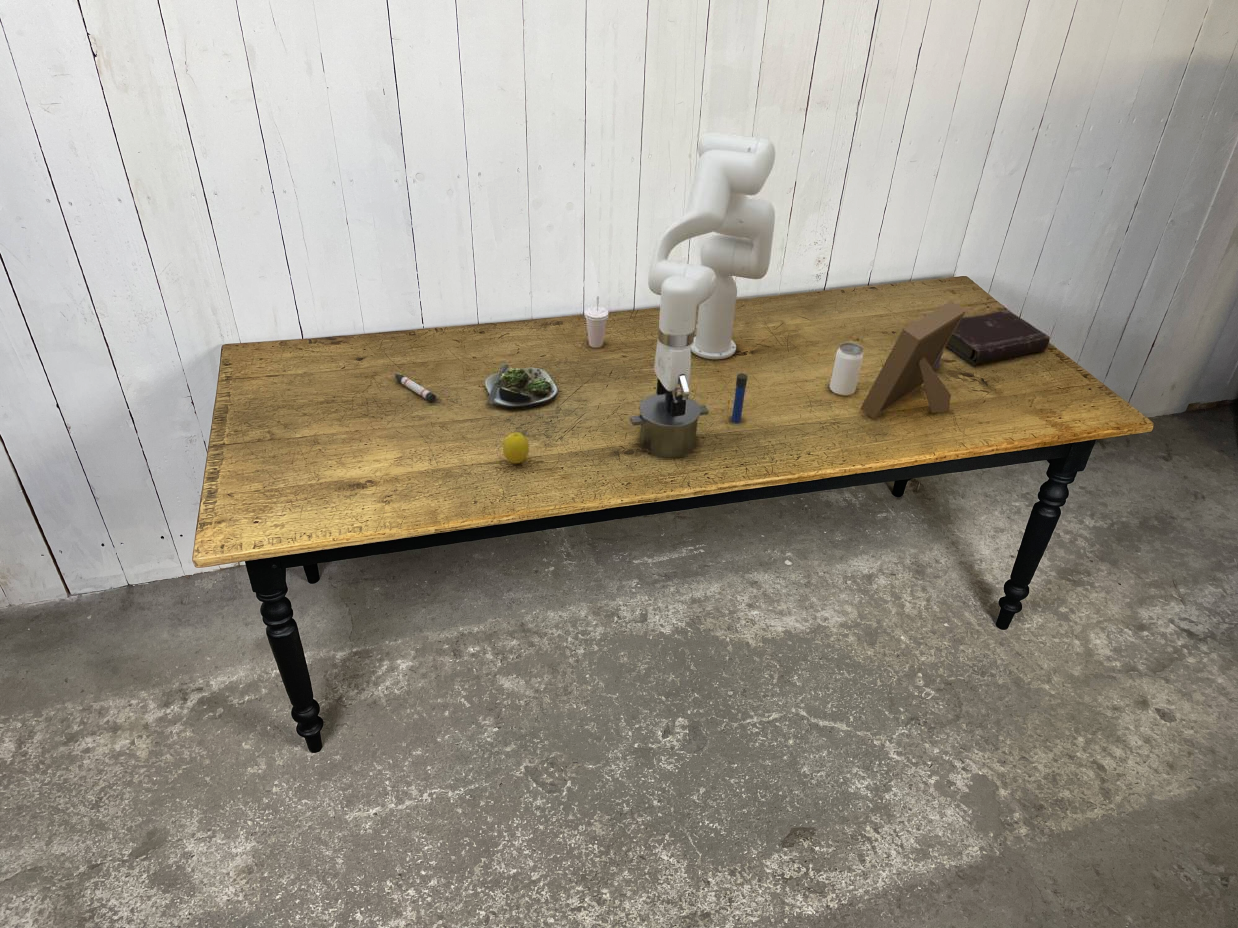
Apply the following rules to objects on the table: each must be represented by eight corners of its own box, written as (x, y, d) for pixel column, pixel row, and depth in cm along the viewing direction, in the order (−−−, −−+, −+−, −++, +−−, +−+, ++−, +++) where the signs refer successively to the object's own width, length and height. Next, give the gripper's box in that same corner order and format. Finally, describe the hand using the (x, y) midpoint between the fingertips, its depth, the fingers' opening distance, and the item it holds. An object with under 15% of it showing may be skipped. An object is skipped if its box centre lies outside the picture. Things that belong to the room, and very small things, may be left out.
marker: (436, 400, 209) (435, 393, 208) (429, 403, 208) (428, 396, 207) (398, 376, 217) (397, 369, 216) (392, 379, 216) (391, 372, 215)
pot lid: (631, 401, 197) (632, 380, 194) (687, 393, 201) (689, 372, 197) (651, 434, 187) (652, 412, 183) (709, 425, 190) (711, 403, 187)
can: (855, 398, 216) (865, 356, 209) (829, 394, 217) (837, 352, 210) (854, 385, 221) (864, 343, 214) (829, 381, 222) (838, 340, 215)
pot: (621, 432, 201) (623, 401, 196) (693, 421, 205) (696, 391, 200) (639, 463, 191) (640, 432, 186) (714, 451, 196) (717, 420, 191)
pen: (729, 418, 207) (735, 374, 199) (738, 417, 208) (744, 372, 200) (733, 424, 205) (739, 379, 198) (742, 422, 206) (749, 377, 198)
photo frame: (859, 412, 211) (881, 320, 196) (905, 381, 224) (929, 292, 209) (913, 438, 203) (940, 344, 188) (958, 404, 215) (987, 314, 200)
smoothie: (611, 341, 236) (612, 294, 227) (602, 352, 231) (604, 304, 222) (589, 336, 237) (589, 289, 229) (580, 347, 232) (581, 299, 224)
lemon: (504, 455, 192) (502, 426, 187) (529, 455, 192) (528, 425, 188) (503, 471, 188) (501, 441, 183) (529, 470, 188) (528, 440, 183)
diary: (1046, 352, 238) (1052, 336, 235) (974, 368, 230) (980, 351, 227) (998, 323, 252) (1003, 307, 249) (929, 336, 244) (934, 320, 241)
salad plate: (473, 375, 219) (472, 359, 216) (541, 364, 224) (541, 349, 221) (491, 415, 204) (490, 399, 202) (563, 403, 210) (563, 387, 207)
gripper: (645, 318, 187) (641, 386, 198) (673, 357, 174) (668, 428, 185) (678, 314, 189) (672, 382, 200) (708, 352, 176) (700, 423, 187)
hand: (670, 404), depth 192 cm, fingers open, 8 cm apart
